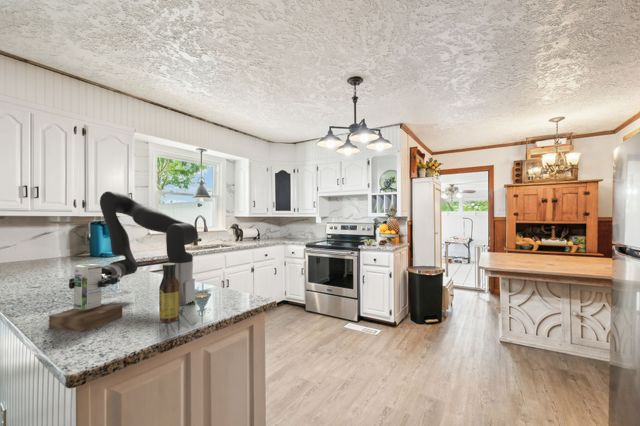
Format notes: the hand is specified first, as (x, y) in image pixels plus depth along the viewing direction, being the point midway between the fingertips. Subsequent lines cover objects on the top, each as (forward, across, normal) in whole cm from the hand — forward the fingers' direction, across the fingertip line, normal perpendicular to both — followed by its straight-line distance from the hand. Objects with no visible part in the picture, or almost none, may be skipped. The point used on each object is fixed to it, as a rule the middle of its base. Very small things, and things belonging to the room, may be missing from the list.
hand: (85, 285), depth 100 cm
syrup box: (-2, 0, +8) cm, 8 cm away
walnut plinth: (-2, 0, +13) cm, 13 cm away
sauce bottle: (+3, +27, +13) cm, 30 cm away
